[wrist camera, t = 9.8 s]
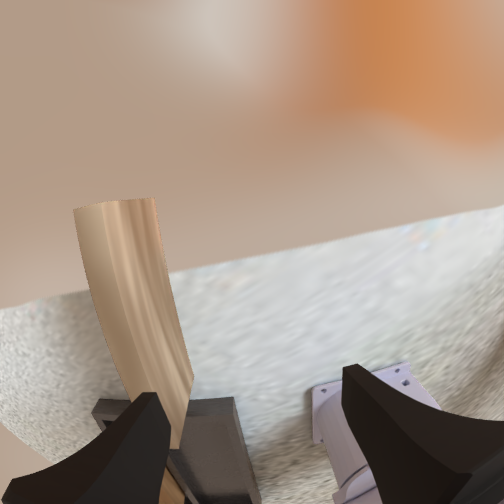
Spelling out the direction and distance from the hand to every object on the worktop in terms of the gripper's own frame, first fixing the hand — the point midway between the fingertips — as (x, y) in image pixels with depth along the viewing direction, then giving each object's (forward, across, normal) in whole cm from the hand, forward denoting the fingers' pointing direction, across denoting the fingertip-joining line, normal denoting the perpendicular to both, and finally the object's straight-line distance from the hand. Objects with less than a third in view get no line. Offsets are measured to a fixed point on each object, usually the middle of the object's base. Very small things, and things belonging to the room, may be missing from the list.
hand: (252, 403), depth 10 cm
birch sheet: (+11, +6, -1) cm, 12 cm away
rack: (+10, +9, +18) cm, 23 cm away
